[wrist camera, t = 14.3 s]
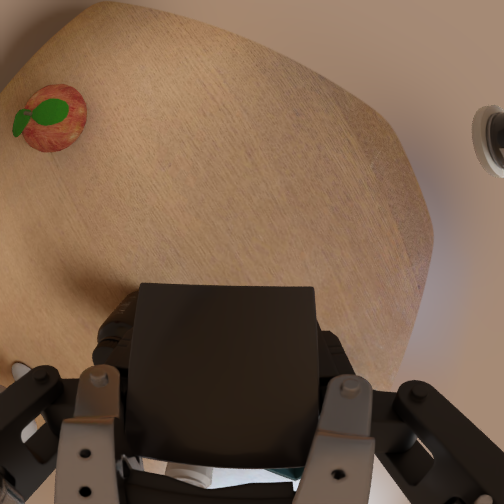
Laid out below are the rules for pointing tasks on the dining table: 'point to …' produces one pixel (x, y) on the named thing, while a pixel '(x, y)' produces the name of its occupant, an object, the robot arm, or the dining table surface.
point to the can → (190, 474)
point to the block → (223, 376)
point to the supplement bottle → (115, 328)
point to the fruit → (52, 118)
